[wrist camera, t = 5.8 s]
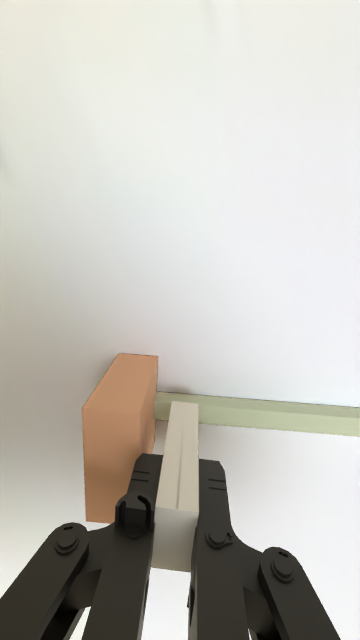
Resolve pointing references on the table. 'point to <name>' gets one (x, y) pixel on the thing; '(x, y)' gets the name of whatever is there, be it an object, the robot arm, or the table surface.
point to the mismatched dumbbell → (149, 405)
